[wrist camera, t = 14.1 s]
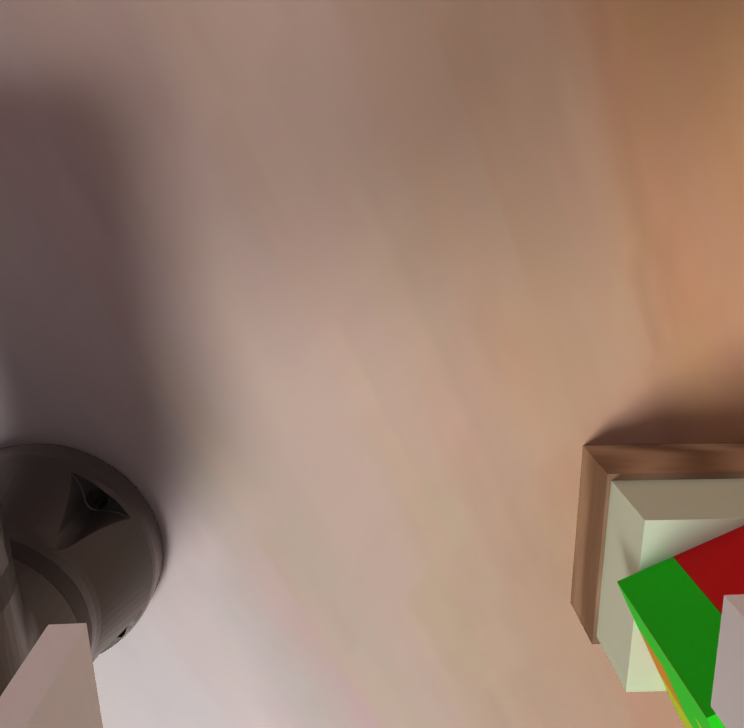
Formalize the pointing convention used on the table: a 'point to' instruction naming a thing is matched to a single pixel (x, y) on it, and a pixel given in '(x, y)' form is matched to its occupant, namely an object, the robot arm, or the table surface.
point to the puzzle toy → (687, 619)
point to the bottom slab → (631, 465)
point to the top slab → (654, 554)
